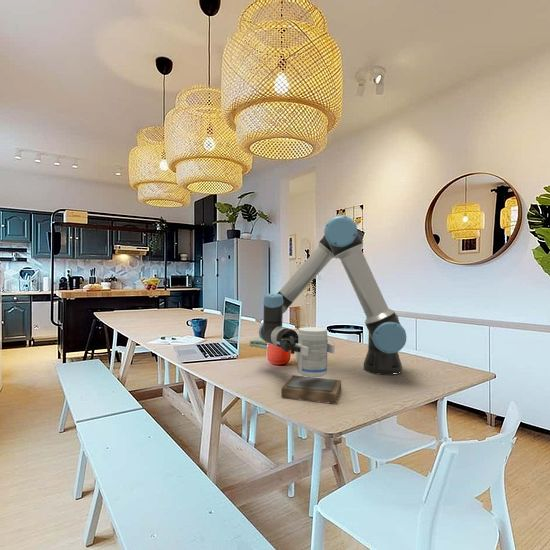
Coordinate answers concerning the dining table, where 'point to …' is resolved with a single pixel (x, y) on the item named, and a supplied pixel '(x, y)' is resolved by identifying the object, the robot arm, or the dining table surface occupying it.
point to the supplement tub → (313, 351)
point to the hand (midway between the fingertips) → (320, 350)
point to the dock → (311, 389)
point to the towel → (258, 343)
